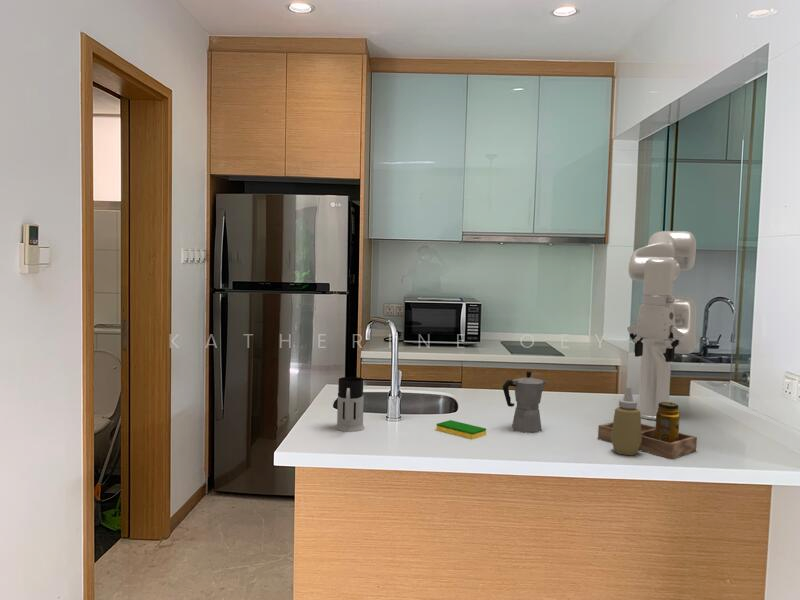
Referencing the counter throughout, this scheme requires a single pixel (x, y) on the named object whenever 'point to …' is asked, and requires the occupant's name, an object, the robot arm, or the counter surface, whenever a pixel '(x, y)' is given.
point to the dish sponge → (461, 429)
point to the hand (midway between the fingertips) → (653, 358)
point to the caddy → (655, 441)
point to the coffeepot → (526, 402)
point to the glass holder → (350, 404)
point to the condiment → (667, 422)
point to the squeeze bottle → (626, 426)
